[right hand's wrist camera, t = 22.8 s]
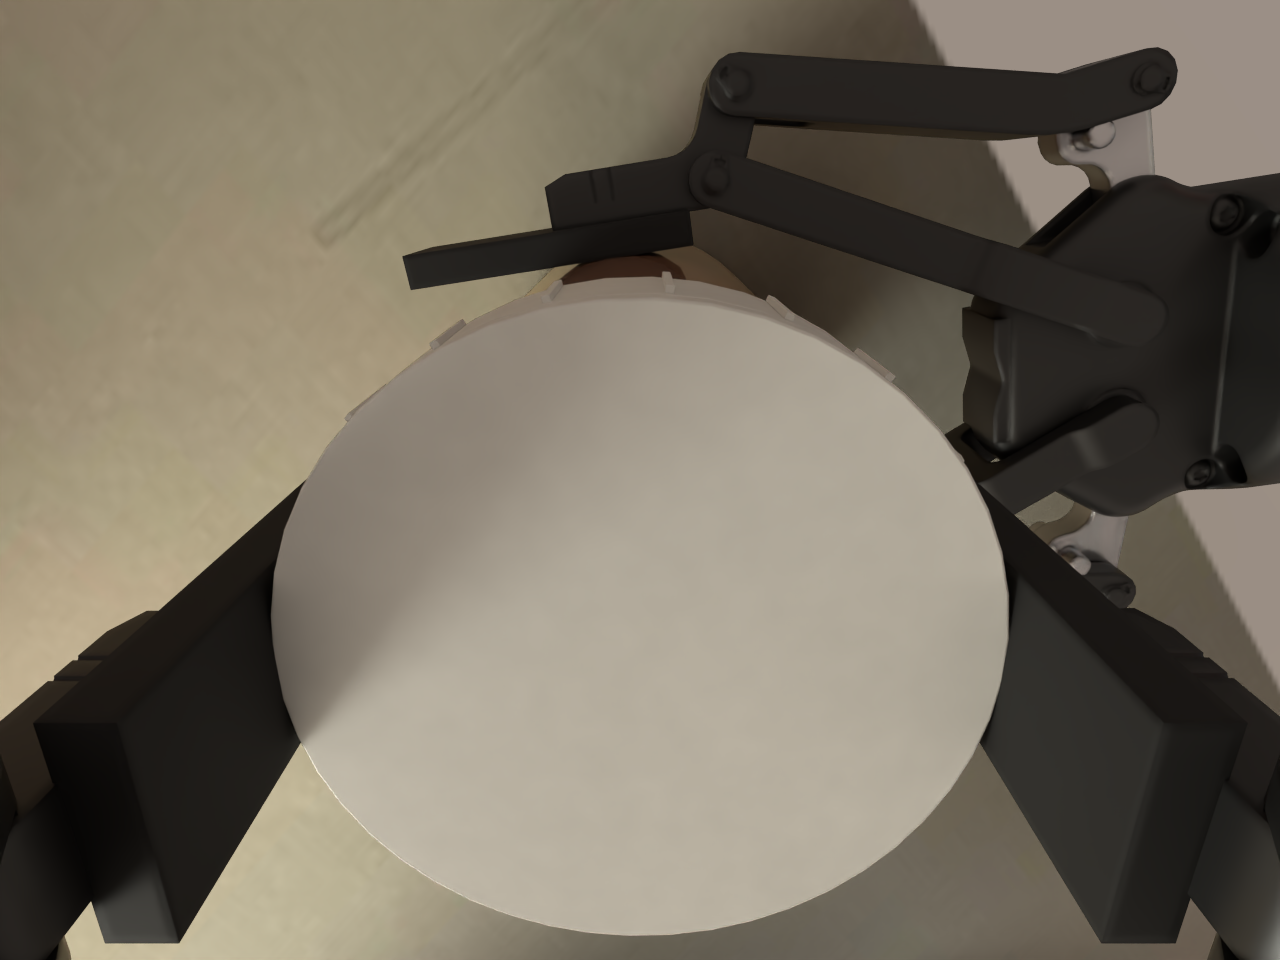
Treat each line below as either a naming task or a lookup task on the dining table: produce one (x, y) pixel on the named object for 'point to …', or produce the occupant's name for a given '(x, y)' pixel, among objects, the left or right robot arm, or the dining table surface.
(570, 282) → the jar
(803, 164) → the dining table surface
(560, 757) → the lid
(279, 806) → the dining table surface
